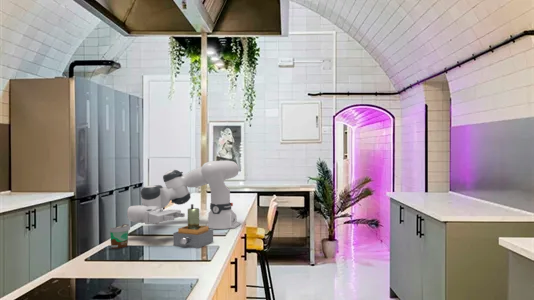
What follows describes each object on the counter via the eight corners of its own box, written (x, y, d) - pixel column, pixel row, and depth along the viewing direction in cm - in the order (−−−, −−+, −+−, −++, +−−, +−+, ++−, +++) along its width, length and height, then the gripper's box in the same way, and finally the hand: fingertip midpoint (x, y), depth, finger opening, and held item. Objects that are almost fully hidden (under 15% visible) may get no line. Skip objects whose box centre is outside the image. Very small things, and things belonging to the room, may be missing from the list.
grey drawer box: (188, 239, 229) (188, 224, 229) (213, 241, 224) (213, 225, 224) (169, 246, 213) (169, 229, 213) (195, 249, 208) (195, 232, 208)
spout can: (191, 230, 223) (191, 203, 223) (201, 230, 221) (201, 203, 221) (185, 232, 218) (185, 204, 218) (195, 232, 216) (195, 205, 216)
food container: (121, 250, 207) (121, 228, 206) (109, 249, 208) (109, 227, 208) (134, 244, 219) (134, 223, 218) (123, 243, 220) (123, 223, 220)
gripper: (166, 218, 237) (189, 219, 232) (142, 224, 218) (167, 226, 213) (166, 206, 237) (189, 207, 232) (142, 211, 218) (167, 213, 213)
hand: (178, 216), depth 222 cm, fingers open, 8 cm apart
